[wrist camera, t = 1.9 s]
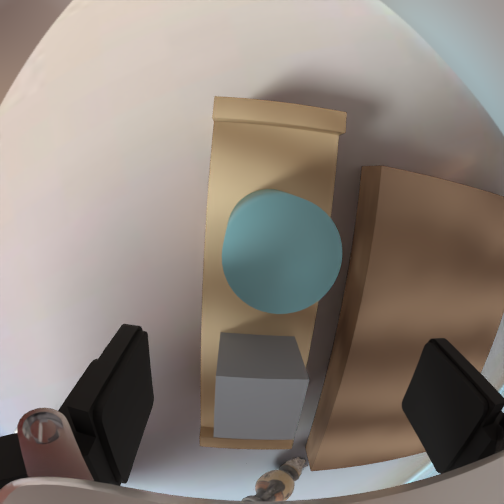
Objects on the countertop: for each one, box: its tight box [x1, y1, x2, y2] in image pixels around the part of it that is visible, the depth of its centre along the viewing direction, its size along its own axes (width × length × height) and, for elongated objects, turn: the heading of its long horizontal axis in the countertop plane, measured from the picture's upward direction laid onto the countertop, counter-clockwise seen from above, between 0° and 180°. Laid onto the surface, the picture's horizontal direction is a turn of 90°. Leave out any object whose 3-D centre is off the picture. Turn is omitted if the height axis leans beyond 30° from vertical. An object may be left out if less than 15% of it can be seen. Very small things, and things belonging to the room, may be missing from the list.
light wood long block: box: [200, 96, 347, 449], centre depth 18 cm, size 20×6×6 cm, turn 175°
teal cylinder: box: [222, 189, 342, 314], centre depth 13 cm, size 4×4×5 cm
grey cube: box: [213, 332, 309, 440], centre depth 15 cm, size 4×4×4 cm
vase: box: [242, 457, 308, 501], centre depth 22 cm, size 5×5×6 cm
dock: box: [305, 166, 504, 471], centre depth 20 cm, size 24×15×3 cm, turn 175°
